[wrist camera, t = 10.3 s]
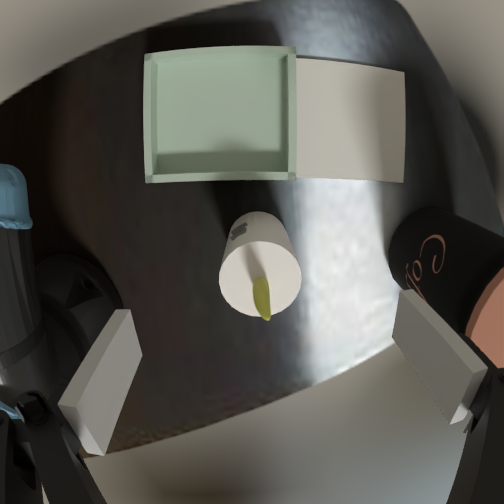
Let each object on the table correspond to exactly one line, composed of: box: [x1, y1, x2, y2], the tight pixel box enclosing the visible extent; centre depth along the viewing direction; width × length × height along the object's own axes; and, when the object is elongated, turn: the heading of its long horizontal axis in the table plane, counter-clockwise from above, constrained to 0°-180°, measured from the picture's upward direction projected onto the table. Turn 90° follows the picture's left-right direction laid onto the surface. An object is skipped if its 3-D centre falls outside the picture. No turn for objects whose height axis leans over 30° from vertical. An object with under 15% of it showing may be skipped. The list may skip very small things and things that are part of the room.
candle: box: [219, 211, 302, 320], centre depth 27 cm, size 6×6×15 cm
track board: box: [296, 58, 406, 183], centre depth 30 cm, size 26×13×1 cm, turn 90°
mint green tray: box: [143, 46, 297, 183], centre depth 27 cm, size 13×12×4 cm
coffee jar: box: [388, 207, 504, 368], centre depth 26 cm, size 11×11×18 cm
